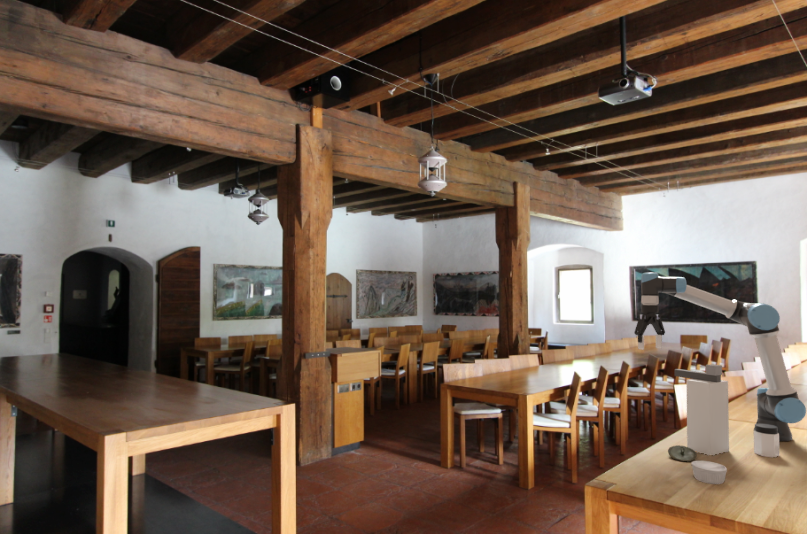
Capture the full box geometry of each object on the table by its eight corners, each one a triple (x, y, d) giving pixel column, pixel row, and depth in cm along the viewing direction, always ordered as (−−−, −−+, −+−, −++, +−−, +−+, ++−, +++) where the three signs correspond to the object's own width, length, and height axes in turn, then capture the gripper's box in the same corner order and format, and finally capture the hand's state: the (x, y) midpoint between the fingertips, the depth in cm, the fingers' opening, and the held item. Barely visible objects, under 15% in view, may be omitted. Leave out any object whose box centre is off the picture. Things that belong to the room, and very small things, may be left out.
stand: (705, 445, 235) (705, 377, 236) (729, 451, 226) (728, 381, 228) (687, 449, 228) (686, 379, 229) (710, 456, 219) (709, 383, 221)
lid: (695, 457, 218) (695, 444, 218) (698, 464, 209) (698, 451, 209) (667, 453, 222) (667, 441, 223) (668, 460, 213) (668, 447, 214)
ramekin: (727, 488, 183) (726, 472, 184) (690, 481, 189) (690, 466, 190) (727, 478, 193) (727, 464, 193) (692, 472, 199) (692, 458, 199)
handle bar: (679, 375, 242) (679, 360, 242) (722, 381, 226) (721, 365, 226) (673, 376, 239) (673, 360, 240) (715, 382, 223) (715, 366, 223)
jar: (772, 458, 217) (772, 429, 217) (751, 453, 224) (750, 425, 224) (782, 455, 222) (781, 426, 222) (760, 450, 229) (760, 422, 229)
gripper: (658, 304, 263) (658, 347, 262) (626, 304, 251) (626, 349, 250) (672, 304, 257) (673, 348, 256) (640, 304, 244) (640, 350, 243)
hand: (650, 348), depth 253 cm, fingers open, 13 cm apart
